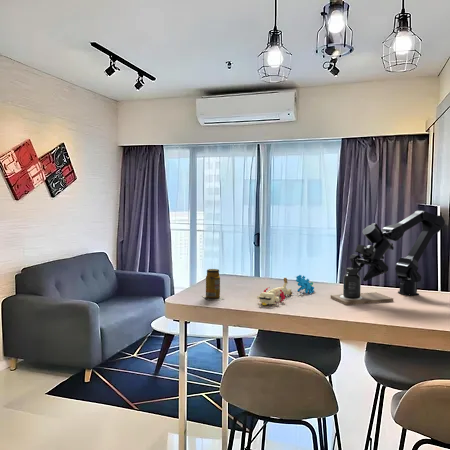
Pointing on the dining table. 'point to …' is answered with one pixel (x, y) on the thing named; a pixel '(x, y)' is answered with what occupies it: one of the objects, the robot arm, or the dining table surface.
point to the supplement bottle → (351, 284)
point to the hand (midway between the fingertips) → (356, 278)
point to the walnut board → (363, 298)
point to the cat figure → (274, 294)
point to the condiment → (213, 285)
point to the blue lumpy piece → (304, 284)
